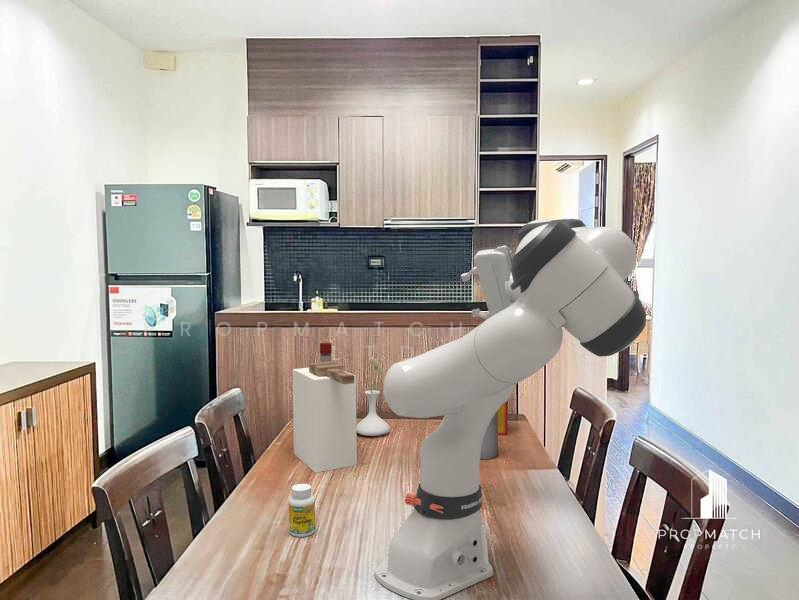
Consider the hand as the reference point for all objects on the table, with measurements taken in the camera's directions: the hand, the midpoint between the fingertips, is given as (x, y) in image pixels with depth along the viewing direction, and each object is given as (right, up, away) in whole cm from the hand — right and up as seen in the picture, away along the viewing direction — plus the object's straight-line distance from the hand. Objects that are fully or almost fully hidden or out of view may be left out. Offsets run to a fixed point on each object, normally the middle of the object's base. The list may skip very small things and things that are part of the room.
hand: (467, 295), depth 146 cm
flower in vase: (-25, -45, +51) cm, 72 cm away
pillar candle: (+7, -46, +28) cm, 55 cm away
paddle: (-34, -22, +16) cm, 44 cm away
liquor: (-40, -45, +48) cm, 77 cm away
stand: (-38, -46, +25) cm, 65 cm away
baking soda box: (+15, -45, +52) cm, 70 cm away
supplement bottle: (-37, -50, -21) cm, 65 cm away
